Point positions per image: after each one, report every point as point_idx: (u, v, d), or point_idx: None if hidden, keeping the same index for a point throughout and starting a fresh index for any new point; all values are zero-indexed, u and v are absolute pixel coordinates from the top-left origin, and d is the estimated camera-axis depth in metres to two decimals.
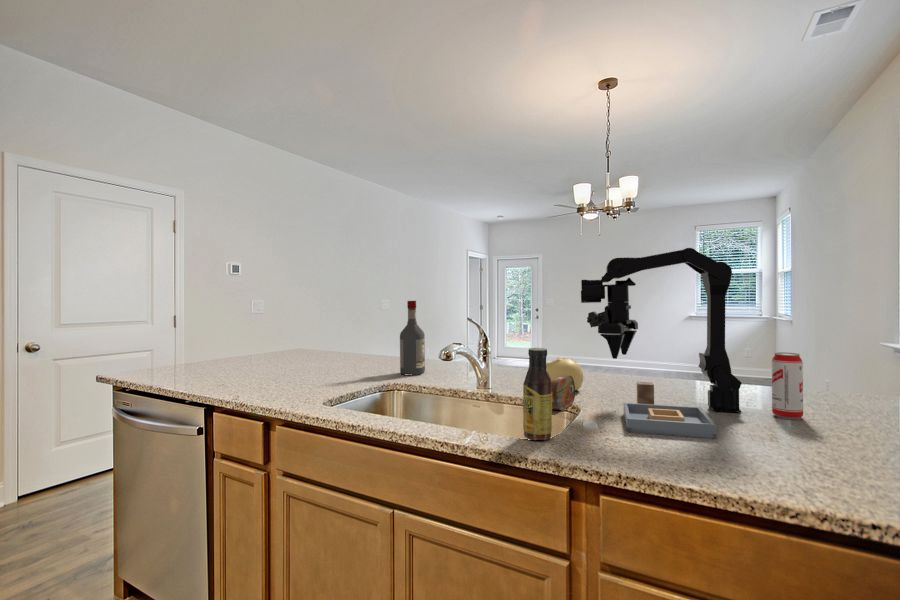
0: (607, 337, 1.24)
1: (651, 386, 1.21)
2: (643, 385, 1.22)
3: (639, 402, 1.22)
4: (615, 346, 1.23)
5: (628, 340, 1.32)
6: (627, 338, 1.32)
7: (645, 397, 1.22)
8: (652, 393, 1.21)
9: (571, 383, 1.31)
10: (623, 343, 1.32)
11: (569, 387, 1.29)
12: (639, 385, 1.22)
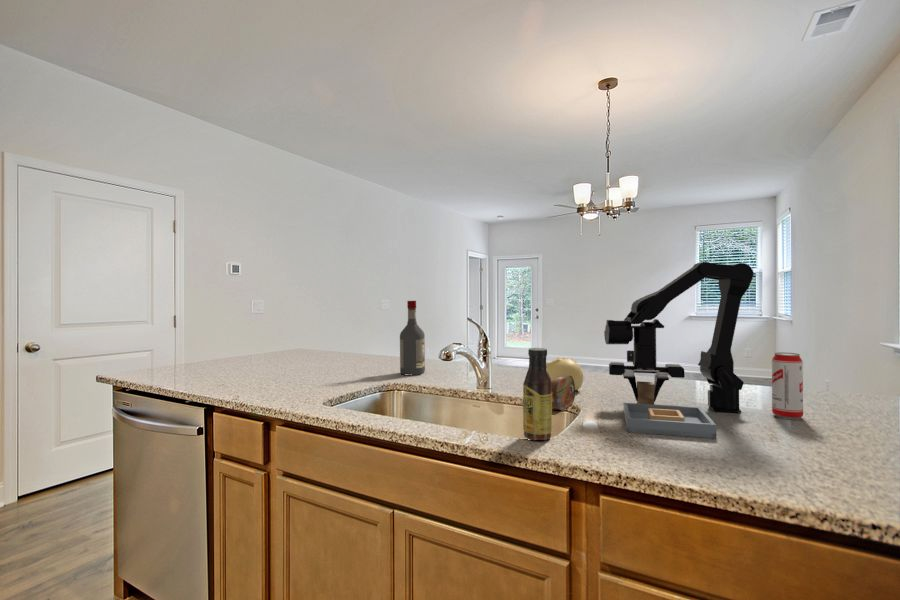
0: None
1: (651, 386, 1.21)
2: (643, 385, 1.22)
3: (639, 402, 1.22)
4: None
5: (655, 387, 1.22)
6: (655, 384, 1.22)
7: (645, 397, 1.22)
8: (652, 393, 1.21)
9: (571, 383, 1.31)
10: (654, 389, 1.23)
11: (569, 387, 1.29)
12: (639, 385, 1.22)
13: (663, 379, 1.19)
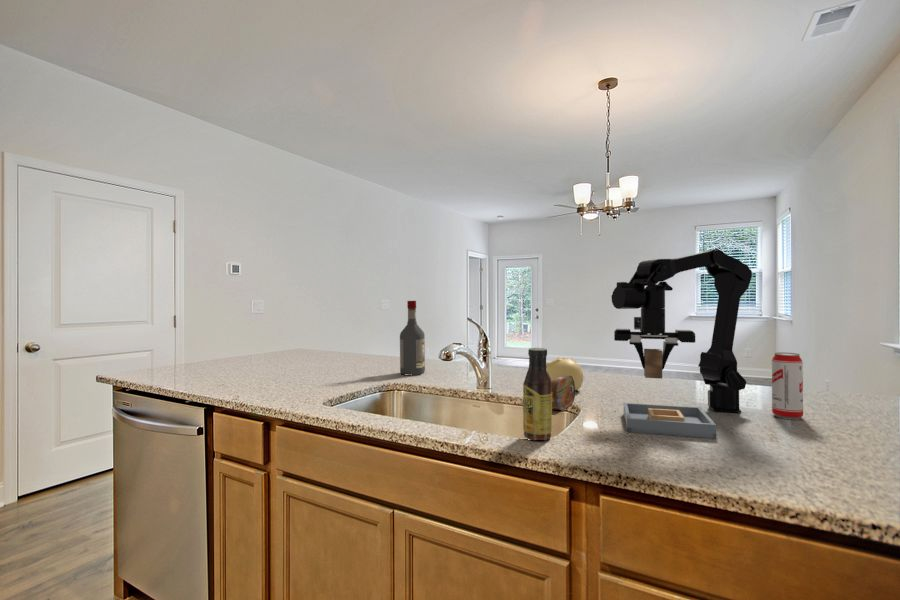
0: None
1: (659, 352, 1.13)
2: (650, 351, 1.14)
3: (646, 369, 1.14)
4: None
5: (663, 353, 1.13)
6: (663, 351, 1.14)
7: (653, 364, 1.14)
8: (660, 360, 1.13)
9: (571, 383, 1.31)
10: (662, 356, 1.15)
11: (569, 387, 1.29)
12: (646, 351, 1.14)
13: (672, 344, 1.11)
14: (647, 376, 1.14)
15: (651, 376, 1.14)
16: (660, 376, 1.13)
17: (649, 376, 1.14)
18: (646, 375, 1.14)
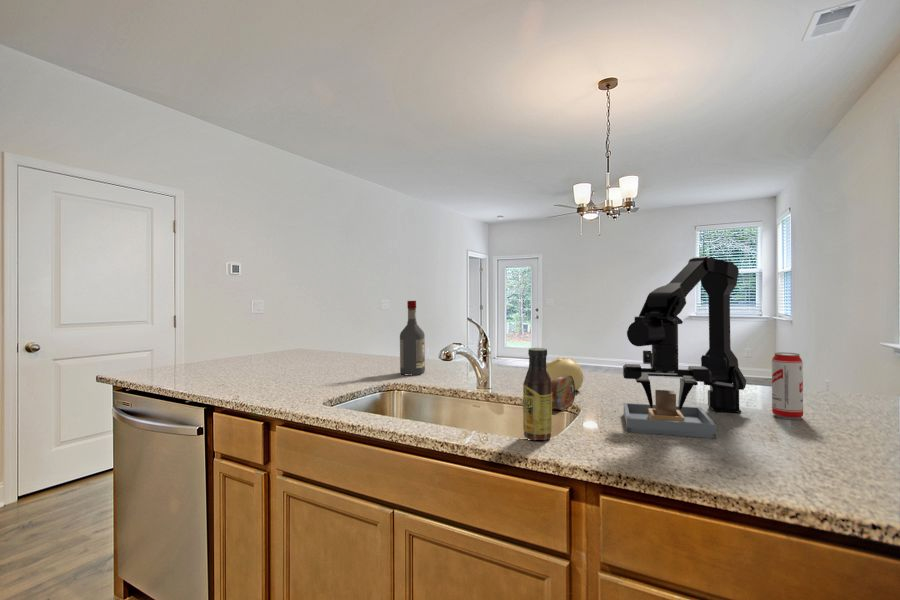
0: None
1: (673, 395, 1.05)
2: (663, 394, 1.06)
3: (659, 414, 1.06)
4: None
5: (681, 392, 1.05)
6: (681, 390, 1.05)
7: (666, 408, 1.05)
8: (674, 404, 1.05)
9: (571, 383, 1.31)
10: (679, 395, 1.06)
11: (569, 387, 1.29)
12: (659, 394, 1.06)
13: (691, 384, 1.03)
14: None
15: None
16: None
17: None
18: None
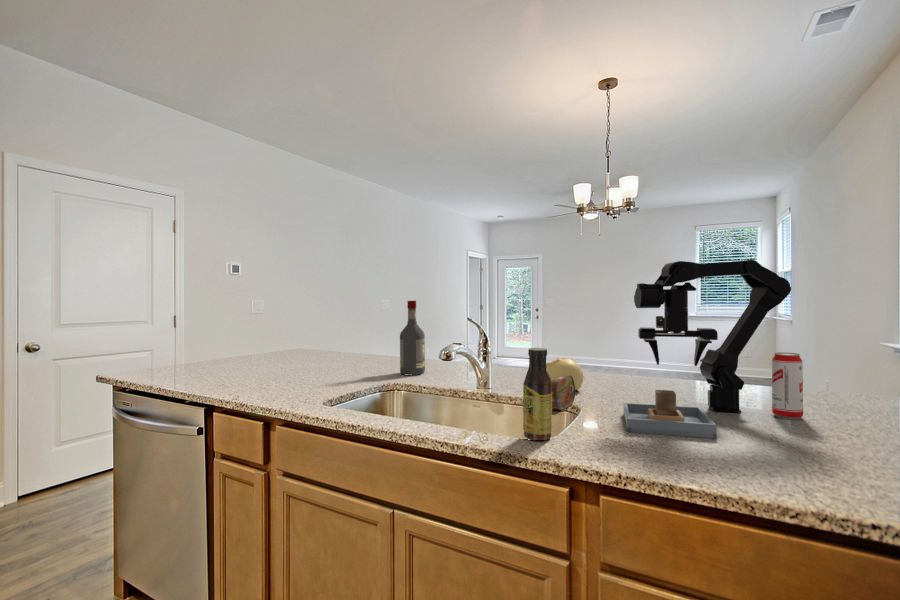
0: (649, 342, 1.25)
1: (673, 395, 1.05)
2: (663, 394, 1.06)
3: (659, 414, 1.06)
4: (653, 352, 1.23)
5: (697, 350, 1.19)
6: (697, 348, 1.19)
7: (666, 408, 1.05)
8: (674, 404, 1.05)
9: (571, 383, 1.31)
10: (695, 353, 1.20)
11: (569, 387, 1.29)
12: (659, 394, 1.06)
13: (706, 342, 1.17)
14: None
15: None
16: None
17: None
18: None
